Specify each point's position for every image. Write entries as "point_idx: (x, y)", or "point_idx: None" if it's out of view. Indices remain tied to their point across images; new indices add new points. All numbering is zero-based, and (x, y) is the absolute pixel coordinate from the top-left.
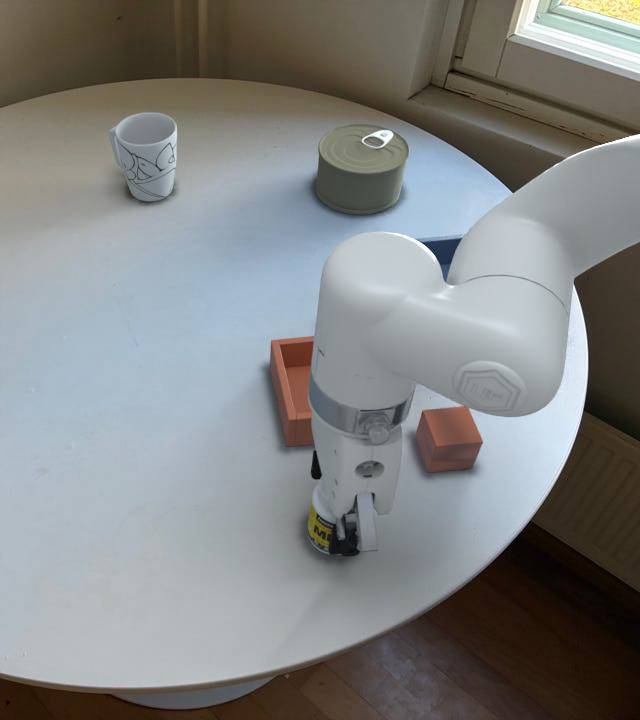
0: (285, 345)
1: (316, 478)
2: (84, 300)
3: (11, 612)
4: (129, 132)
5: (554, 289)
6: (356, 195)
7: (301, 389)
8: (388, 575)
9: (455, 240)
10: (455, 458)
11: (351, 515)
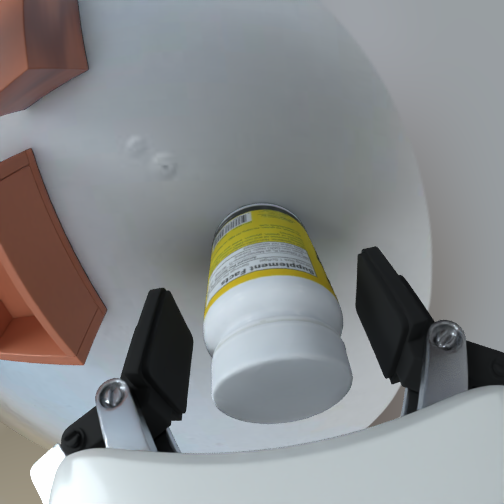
0: None
1: (191, 338)
2: (59, 420)
3: (335, 432)
4: None
5: None
6: None
7: (19, 294)
8: (343, 149)
9: None
10: (58, 23)
11: (334, 324)
